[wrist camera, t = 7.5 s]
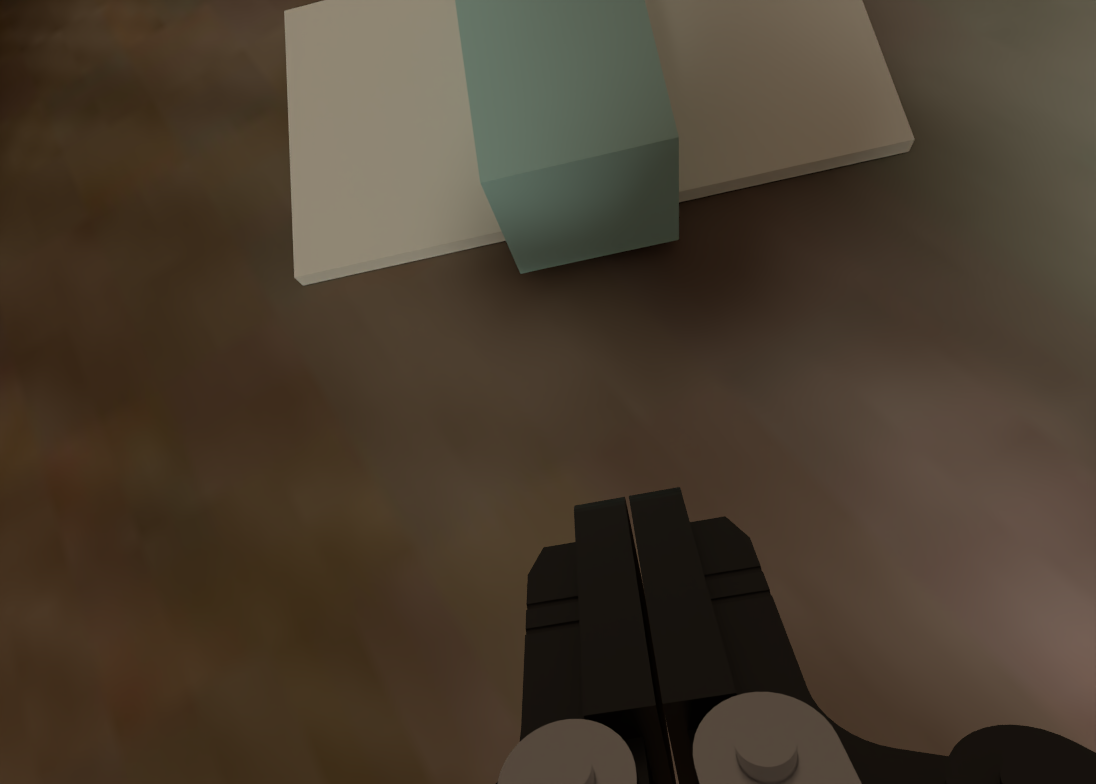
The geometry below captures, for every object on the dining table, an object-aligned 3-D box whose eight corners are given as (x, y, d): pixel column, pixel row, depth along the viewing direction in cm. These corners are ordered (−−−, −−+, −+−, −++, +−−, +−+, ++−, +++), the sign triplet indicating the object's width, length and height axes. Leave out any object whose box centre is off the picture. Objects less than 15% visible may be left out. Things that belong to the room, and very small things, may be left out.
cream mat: (302, 285, 25) (294, 277, 25) (292, 22, 29) (284, 11, 29) (909, 151, 23) (914, 139, 23) (810, -114, 27) (813, -130, 26)
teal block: (480, 182, 19) (434, -149, 23) (520, 273, 23) (476, -14, 27) (678, 137, 18) (596, -195, 22) (678, 239, 23) (610, -49, 27)
